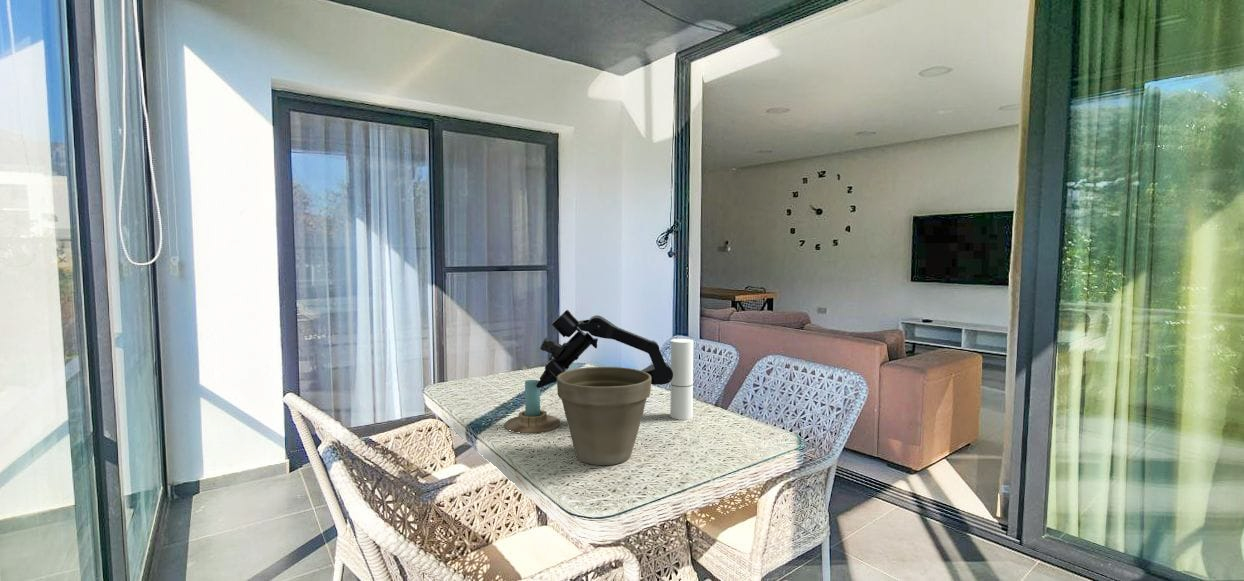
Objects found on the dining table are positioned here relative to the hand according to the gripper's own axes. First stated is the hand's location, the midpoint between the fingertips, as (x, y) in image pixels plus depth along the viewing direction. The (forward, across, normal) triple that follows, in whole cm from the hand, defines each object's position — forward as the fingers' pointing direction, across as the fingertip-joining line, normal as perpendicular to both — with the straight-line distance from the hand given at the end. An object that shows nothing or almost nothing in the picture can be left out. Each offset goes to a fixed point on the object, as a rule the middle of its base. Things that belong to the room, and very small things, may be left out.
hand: (538, 383), depth 174 cm
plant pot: (-5, +26, +24) cm, 35 cm away
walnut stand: (+11, 0, +8) cm, 13 cm away
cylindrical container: (-23, -7, +41) cm, 48 cm away
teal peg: (+10, 0, +7) cm, 13 cm away
